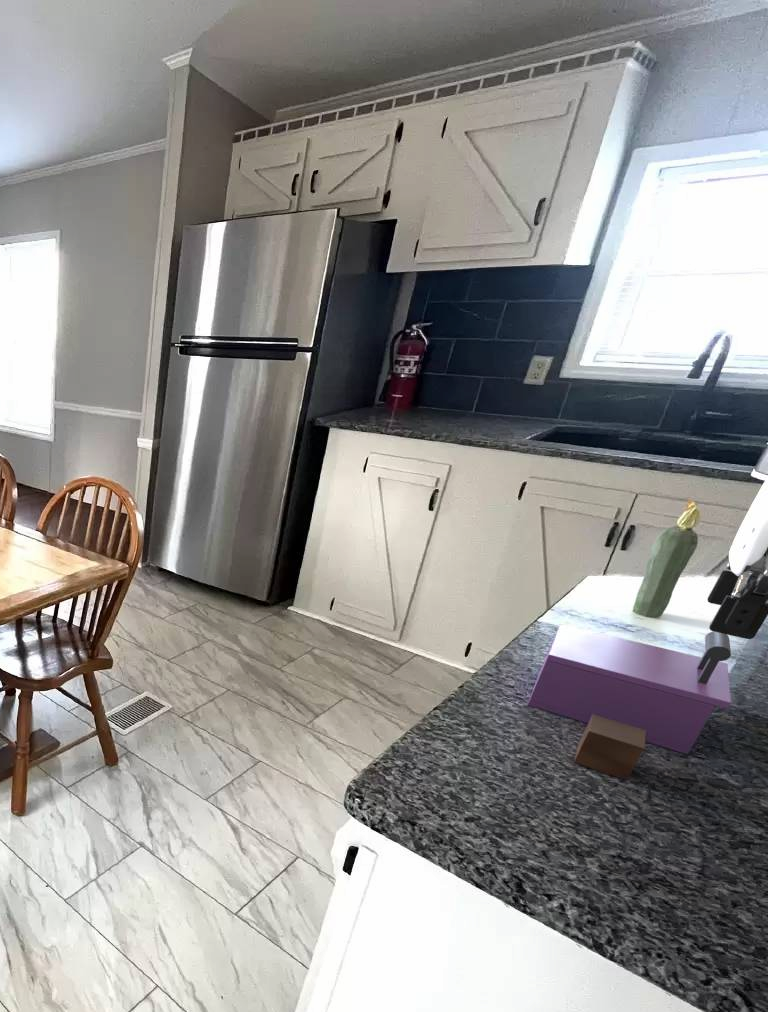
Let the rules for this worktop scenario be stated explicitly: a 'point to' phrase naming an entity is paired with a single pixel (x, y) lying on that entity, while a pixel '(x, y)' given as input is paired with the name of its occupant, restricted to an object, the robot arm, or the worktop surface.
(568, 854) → the worktop surface
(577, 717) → the document box
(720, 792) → the worktop surface
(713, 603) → the robot arm
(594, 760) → the block
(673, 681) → the lid
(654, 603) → the vegetable
